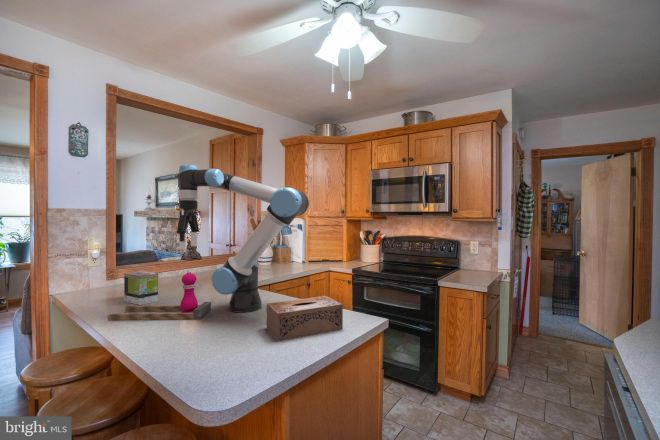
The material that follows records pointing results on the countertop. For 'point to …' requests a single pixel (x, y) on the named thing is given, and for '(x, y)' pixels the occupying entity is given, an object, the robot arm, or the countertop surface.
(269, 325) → the tissue box cover
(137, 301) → the tea box
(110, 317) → the guide track
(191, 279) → the pepper mill
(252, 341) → the countertop surface
